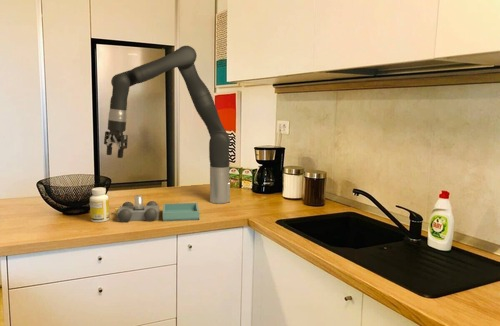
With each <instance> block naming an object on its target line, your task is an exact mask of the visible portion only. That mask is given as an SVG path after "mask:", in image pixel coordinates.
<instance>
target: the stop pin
mask: <svg viewBox="0 0 500 326" xmlns="http://www.w3.org/2000/svg"><path fill="white" fill-rule="evenodd" d="M143 198H144V197H143V195H142V194H136V195H134V206H135V210H143V206H144V205H143V204H144V199H143Z"/></svg>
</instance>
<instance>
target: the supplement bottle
mask: <svg viewBox="0 0 500 326" xmlns="http://www.w3.org/2000/svg"><path fill="white" fill-rule="evenodd" d="M106 192H107V189H106V187H100V186H99V187H93V188H91V194H92V195H91V196H89V208H90V209H89V210H90V212H89V213H90V221H91V222H93V223H103V222H108V221H109V220H110V200H109V196H108V195H107V194H106Z"/></svg>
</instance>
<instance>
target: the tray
mask: <svg viewBox="0 0 500 326" xmlns="http://www.w3.org/2000/svg"><path fill="white" fill-rule="evenodd" d="M180 221H200V209H199V205H198V203H197V202H180V203H179V202H177V203H162V222H180Z"/></svg>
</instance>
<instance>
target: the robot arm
mask: <svg viewBox="0 0 500 326" xmlns="http://www.w3.org/2000/svg"><path fill="white" fill-rule="evenodd" d="M196 60H197V51H196V49H195V48H194V47H193V46H191V45H182V46H180V47H179V48H178V49H176V50H174V51H172V52H170V53H168V54H166V55H165V56H162V57H160V58H157V59H155V60H151V61H150V62H149V61H148V62H146V63H144V64H141V65H139V66H136V67H133V68H132V69H129V70H126V71H123V72H120V73H117V74H115V75H113V76H112V78H111V81H110V83H111V86H112V91H111V97H110V102H109V110H108V111H109V112H108V119H107V120H108V121H107V130H106V131H105V132H104V141H103V145H105V146H106V155H107V156H112V155H113V154H112V153H113V145H114V144H115V145H116V146H117V148H118V149H117V158H118V159H123V157H124V150H126V149H127V148H128V139H129V138H128V137H129V136H128V134H124V132H125V131H126V129H127V127H126V126H127V119H128V118H127V115H128V114H127V111H128V110H127V108H128V97H129V92H130V87H132V86H135V85H138V84H142V83H145V82H147V81H149V80H152V79H155V78H157V77H158V76H160V75H162V74H164V73H166V72H168V71H170V70H172V69H175V68H177V69H178V71H179V72H180V74H181V76H182V78H183V81H184V83H185V86H186V88H187V92H188V93H189V96H190V98H191V102H192V103H193V107H194V109H195V110H196V112H197V114H198V115H199V117H200V119H201V120H202V121H203V123H204V125H205V126H206V129H207V131H208V134H209V137H210V138H209V143H208V151H209V152H208V154H209V156H208V157H209V202H210V203H212V204H227V203H231V182H230V164H231V163H230V145H231V138H230V136H229V134H228V133H227V131H226V129H225V127H224V125H223V123H222V121H221V119H220V116H219V112H218V109H217V107H216V104H215V101H214V99H213V96H212V94H211V92H210V90H209V88H208V86H207V85H206V83H204V81H203V80H202V79H201V77H200V75H199V73H198V71H197V68H196V64H195V62H196Z"/></svg>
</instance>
